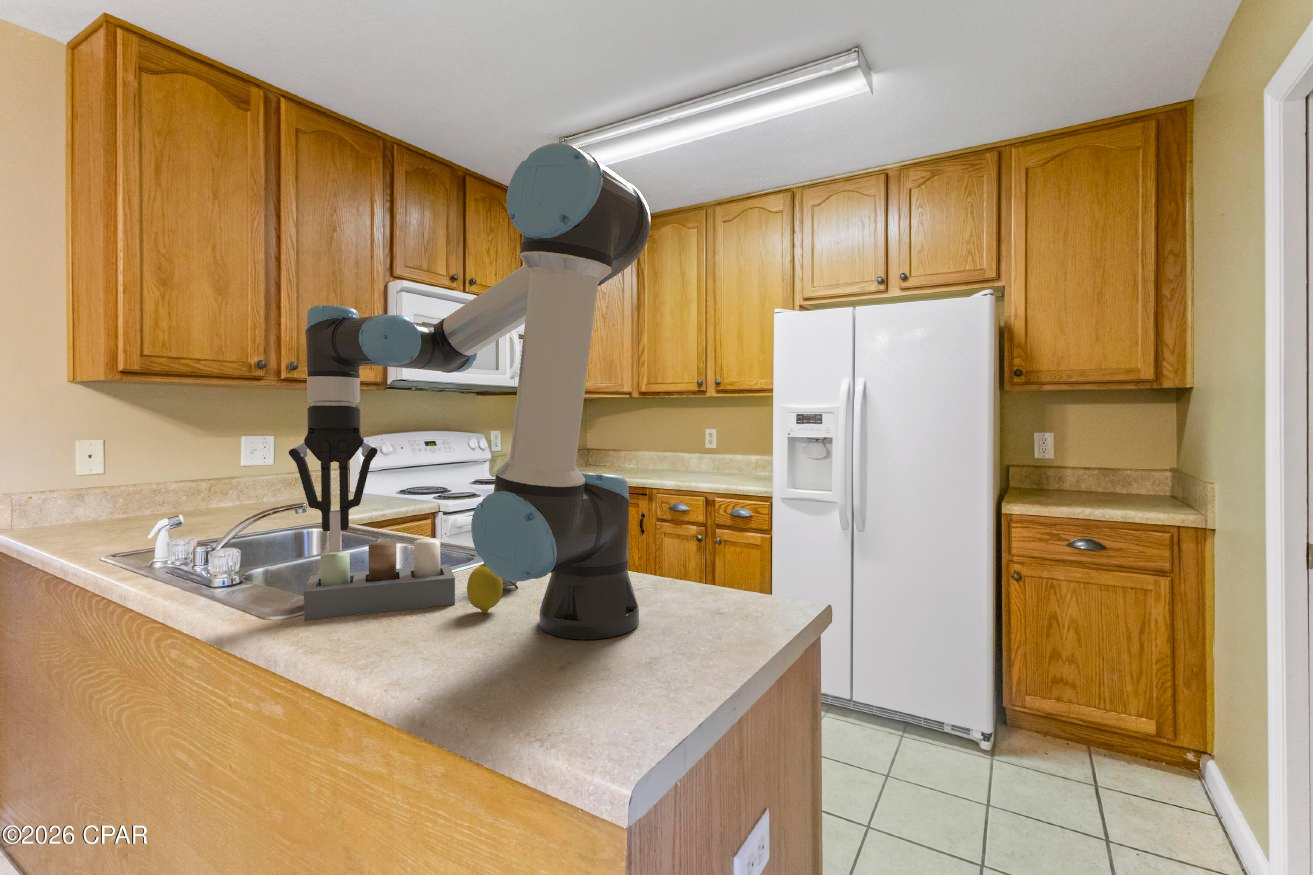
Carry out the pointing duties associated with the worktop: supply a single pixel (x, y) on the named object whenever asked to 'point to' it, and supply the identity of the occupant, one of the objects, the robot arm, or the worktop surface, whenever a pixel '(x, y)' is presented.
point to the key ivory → (426, 558)
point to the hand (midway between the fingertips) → (335, 550)
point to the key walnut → (382, 561)
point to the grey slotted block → (378, 594)
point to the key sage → (335, 568)
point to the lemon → (484, 588)
